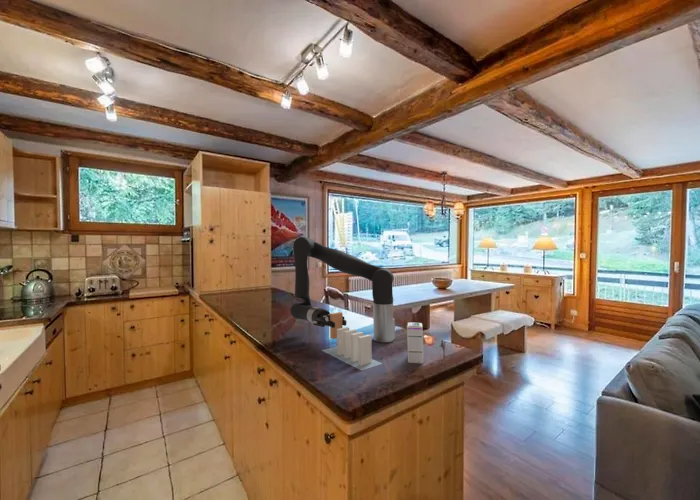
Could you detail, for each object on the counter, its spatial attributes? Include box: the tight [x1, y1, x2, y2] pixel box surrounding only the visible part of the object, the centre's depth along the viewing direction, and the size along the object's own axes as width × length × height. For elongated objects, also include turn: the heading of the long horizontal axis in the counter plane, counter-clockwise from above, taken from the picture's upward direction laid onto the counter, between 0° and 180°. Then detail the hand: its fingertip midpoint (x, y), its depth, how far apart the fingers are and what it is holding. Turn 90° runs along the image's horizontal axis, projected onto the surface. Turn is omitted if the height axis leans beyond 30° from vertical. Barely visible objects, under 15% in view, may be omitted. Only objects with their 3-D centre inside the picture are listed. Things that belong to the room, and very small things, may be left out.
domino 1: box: [329, 311, 343, 340], centre depth 125 cm, size 5×2×10 cm, turn 127°
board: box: [321, 346, 383, 371], centre depth 118 cm, size 10×26×1 cm, turn 37°
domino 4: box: [351, 331, 365, 362], centre depth 114 cm, size 5×2×10 cm, turn 127°
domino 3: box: [344, 328, 357, 359], centre depth 118 cm, size 5×2×10 cm, turn 127°
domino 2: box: [336, 326, 350, 355], centre depth 121 cm, size 5×2×10 cm, turn 127°
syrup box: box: [406, 321, 424, 364], centre depth 113 cm, size 6×6×14 cm
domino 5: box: [358, 334, 373, 366], centre depth 110 cm, size 5×2×10 cm, turn 127°
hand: (340, 324), depth 123 cm, fingers closed on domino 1, 5 cm apart
